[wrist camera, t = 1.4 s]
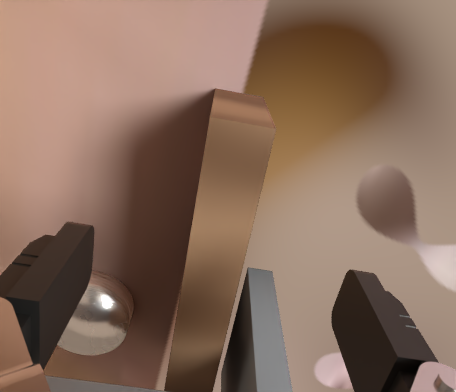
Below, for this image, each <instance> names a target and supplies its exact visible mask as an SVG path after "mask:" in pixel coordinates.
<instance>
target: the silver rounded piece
mask: <svg viewBox="0 0 456 392" xmlns="http://www.w3.org/2000/svg"><path fill="white" fill-rule="evenodd" d="M133 310H134V302H133V298H132V295H131V293H130V292H129V290H128V289H127V287H126V286H125V285H124V284H123V283H122V282H120V281H119V280H118V279H116V278H114V277H113V276H111V275H108V274H106V273H102V272H98V271H92V273H91V277H90V281H89V284H88V287H87V289H86V291H85V293H84V295H83V297H82V299H81V300H80V302H79V304H78V306H77V308H76V310H75V312H74V314H73V315H72V317H71V319H70V321H69V323H68V325H67V327H66V329H65V330H64V332H63V334H62V336H61V338H60V340H59V342H58V343H57V345H58V346H60V347H61V348H63V349H65V350H67V351H69V352H72V353H76V354H80V355H100V354H104V353H107V352H110V351H112V350H114V349H115V348H117V347H118V346H119V345H120V344H121V343H122V342H123V340H124V338H125V336H126V333H127V330H128V327H129V324H130V321H131V317H132V314H133Z"/></svg>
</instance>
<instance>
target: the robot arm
mask: <svg viewBox="0 0 456 392" xmlns="http://www.w3.org/2000/svg"><path fill="white" fill-rule="evenodd" d="M93 246H94V227H93V226H91V225H85V224H79V223H73V222H67V223H66V224H65V225H64V226H63V227H62V228H61V230H60V231H59V232H58V233H57V235H56V236H50V235H44V236H42V237H40V238H38V239H36V240H34V241H32V242H30V243H29V245H28V246H27V247H26V248H25V249H24V250H23V251H22V252H21V254H20V255H19V256H18V257H17V258H16V259H15V260H14V261H13V263H12V264H10V265H9V267H8V268H7V269H6V270H5V271H4V272H3V273H2V274H1V275H0V392H51V391H50V388H49V385H48V383H47V380H46V377H45V375H44V372H43V370H44V368H45V366H46V364H47V362H48V360H49V358H50V357H51V355H52V353H53V351H54V349H55V347H56V345H57V343H58V342H59V340H60V338H61V336H62V334H63V332H64V330H65V329H66V327H67V325H68V323H69V321H70V319H71V317H72V315H73V314H74V312H75V310H76V308H77V306H78V304H79V302H80V300H81V299H82V297H83V295H84V293H85V291H86V289H87V287H88V284H89V281H90V277H91V273H92V262H93ZM332 328H333V331H334V334H335V337H336V339H337V342H338V345H339V348H340V351H341V354H342V357H343V360H344V363H345V366H346V368H347V371H348V374H349V377H350V380H351V383H352V386H353V389H354V391H355V392H456V370H454V369H452V368H451V367H449V366H447V365H444V364H441V363H439V362H438V360H437V359H436V357H435V356H434V354H433V352H432V351H431V349H430V348H429V346H428V344H427V343H426V341H425V340H424V338H423V336H422V335H421V333H420V332H419V330H418V329H416V325H415V324H414V322H413V321H412V319H411V318H410V316H409V314H408V313H407V311H406V309H405V308H404V306H403V305H402V303H401V302H400V301H399V300H398V299H396V298H395V297H394V296H393V295H392V294H391V293H390V292H388V291H385V290H384V288H383V286H382V285H381V283H380V281H379V280H378V278H377V276H376V275H375V274H374V273H369V272H362V271H357V270H349V271H348V272H347V273H346V275H345V278H344V280H343V283H342V286H341V288H340V291H339V294H338V297H337V299H336V301H335V304H334V307H333V311H332Z"/></svg>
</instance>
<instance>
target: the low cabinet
mask: <svg viewBox="0 0 456 392" xmlns="http://www.w3.org/2000/svg"><path fill="white" fill-rule="evenodd" d="M45 377H46V380H47V383H48V385H49V388H50V391H51V392H168V391H160V390H153V389H145V388H137V387H130V386H122V385H114V384H107V383H99V382H91V381H83V380H76V379H68V378H60V377H53V376H45ZM221 392H292V386H291V380H290V375H289V368H288V362H287V356H286V350H285V345H284V339H283V333H282V326H281V321H280V314H279V309H278V303H277V297H276V291H275V285H274V279H273V273H272V271H267V270H261V269H254V268H248V269H247V274H246V277H245V281H244V285H243V289H242V293H241V297H240V301H239V305H238V309H237V313H236V317H235V321H234V325H233V329H232V333H231V337H230V341H229V345H228V349H227V353H226V357H225V361H224V365H223V368H222V374H221Z"/></svg>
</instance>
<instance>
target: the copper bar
mask: <svg viewBox="0 0 456 392" xmlns="http://www.w3.org/2000/svg"><path fill="white" fill-rule="evenodd" d="M275 132H276V128H275V125H274V123H273V120H272V118H271V115H270V113H269V110H268V108H267V105H266V103H265V100H264V98H263V97H261V96H256V95H250V94H245V93H236V92H231V91H226V90H220V89H215V93H214V98H213V104H212V109H211V114H210V119H209V125H208V131H207V137H206V143H205V149H204V155H203V161H202V167H201V173H200V179H199V185H198V191H197V197H196V203H195V209H194V215H193V221H192V227H191V233H190V239H189V245H188V251H187V257H186V263H185V269H184V275H183V281H182V287H181V293H180V299H179V305H178V311H177V317H176V323H175V329H174V335H173V341H172V347H171V353H170V359H169V365H168V372H167V377H166V383H165V389H164V391H168V392H212V391H213V387H214V383H215V379H216V375H217V371H218V366H219V362H220V358H221V354H222V350H223V346H224V342H225V338H226V334H227V330H228V326H229V321H230V317H231V313H232V309H233V305H234V301H235V297H236V292H237V288H238V284H239V280H240V276H241V272H242V268H243V264H244V260H245V256H246V251H247V247H248V243H249V239H250V235H251V230H252V227H253V222H254V219H255V214H256V210H257V206H258V202H259V198H260V194H261V190H262V185H263V182H264V177H265V173H266V169H267V165H268V161H269V157H270V153H271V148H272V145H273V140H274V136H275Z"/></svg>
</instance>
